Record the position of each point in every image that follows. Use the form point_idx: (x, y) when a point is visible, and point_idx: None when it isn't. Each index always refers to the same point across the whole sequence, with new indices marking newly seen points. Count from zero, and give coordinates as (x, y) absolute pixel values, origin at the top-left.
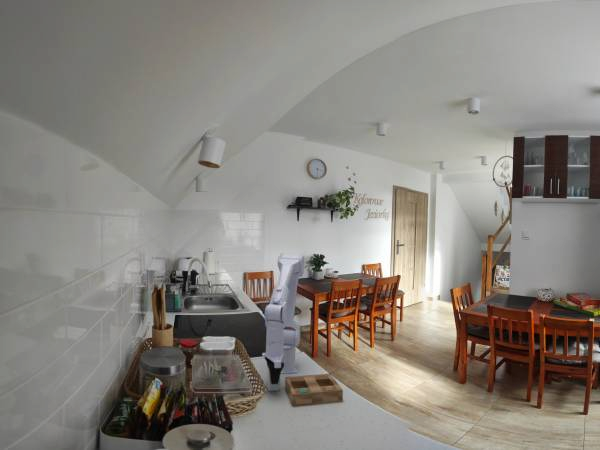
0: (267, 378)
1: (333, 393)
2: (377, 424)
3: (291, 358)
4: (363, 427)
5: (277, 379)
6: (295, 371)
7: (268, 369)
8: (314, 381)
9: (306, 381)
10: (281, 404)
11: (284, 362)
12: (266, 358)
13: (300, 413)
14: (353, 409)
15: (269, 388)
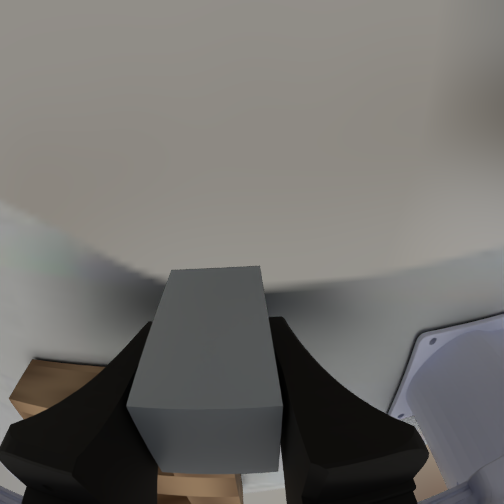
0: (263, 300)
1: None
2: None
3: (433, 453)
4: None
5: None
6: (392, 414)
7: (208, 386)
8: (165, 491)
9: (162, 476)
10: (41, 318)
11: (440, 412)
12: (319, 477)
13: (7, 368)
14: None
15: (168, 285)
